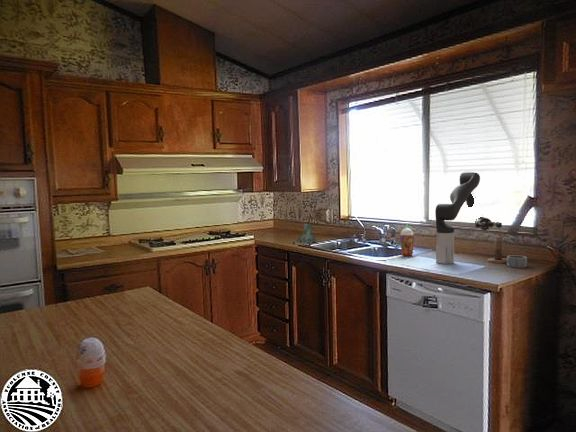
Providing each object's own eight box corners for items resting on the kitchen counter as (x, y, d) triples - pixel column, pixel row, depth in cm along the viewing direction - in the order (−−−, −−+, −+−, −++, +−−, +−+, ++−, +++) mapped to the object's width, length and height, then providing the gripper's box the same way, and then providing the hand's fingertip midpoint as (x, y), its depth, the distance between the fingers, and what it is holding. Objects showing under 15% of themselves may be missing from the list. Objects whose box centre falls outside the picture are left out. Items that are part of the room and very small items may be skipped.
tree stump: (287, 244, 345) (290, 221, 347) (306, 247, 357) (309, 225, 359) (301, 245, 331) (304, 221, 333) (321, 248, 342) (323, 225, 344)
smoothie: (397, 255, 276) (397, 223, 275) (408, 253, 279) (408, 222, 277) (405, 257, 268) (405, 224, 267) (416, 255, 271) (416, 223, 270)
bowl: (521, 268, 225) (521, 258, 225) (504, 266, 232) (504, 256, 232) (529, 265, 230) (529, 256, 230) (512, 263, 238) (512, 254, 237)
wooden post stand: (503, 264, 237) (503, 239, 236) (483, 261, 246) (483, 238, 245) (512, 261, 244) (512, 237, 243) (493, 259, 253) (493, 236, 252)
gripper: (471, 217, 271) (479, 220, 255) (495, 217, 269) (504, 219, 253) (471, 229, 272) (479, 233, 256) (495, 229, 270) (504, 232, 254)
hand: (491, 226), depth 255 cm, fingers open, 8 cm apart
